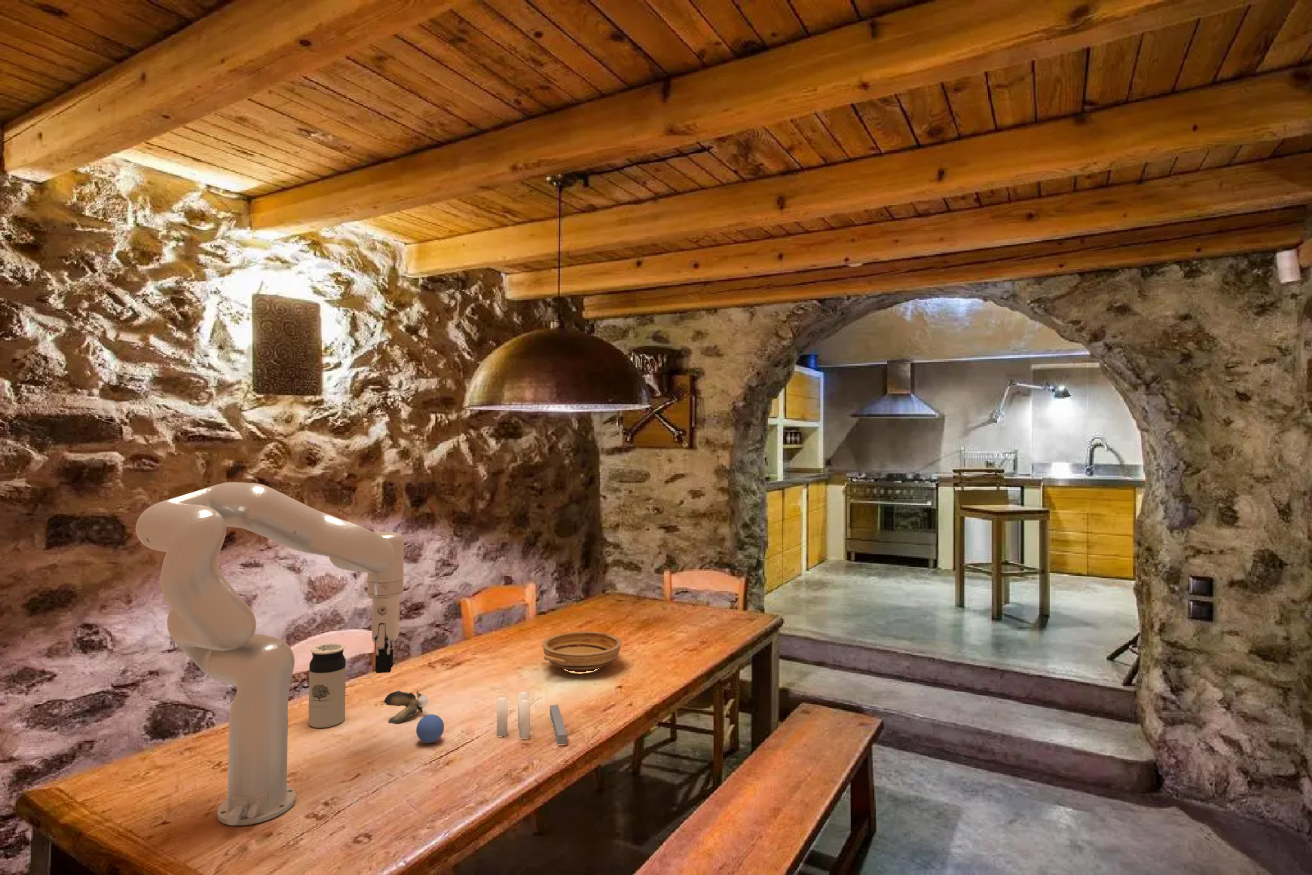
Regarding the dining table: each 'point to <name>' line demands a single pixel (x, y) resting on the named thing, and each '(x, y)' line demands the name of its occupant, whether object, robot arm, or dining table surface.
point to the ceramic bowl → (581, 650)
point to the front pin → (502, 716)
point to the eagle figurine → (405, 704)
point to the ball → (430, 728)
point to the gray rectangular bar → (558, 724)
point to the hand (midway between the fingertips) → (384, 669)
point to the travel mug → (327, 686)
